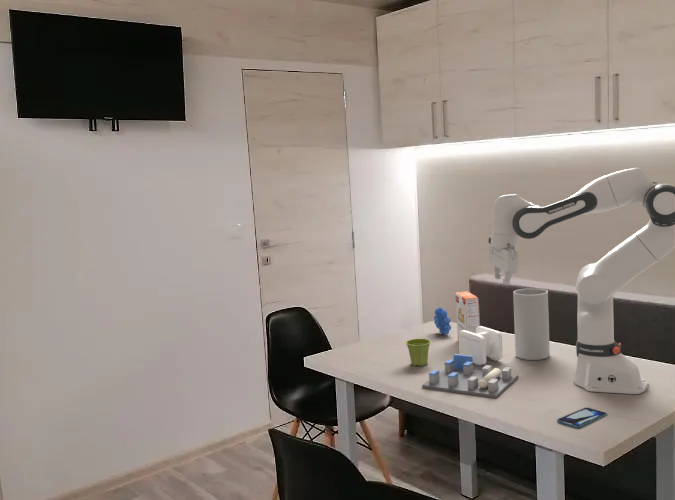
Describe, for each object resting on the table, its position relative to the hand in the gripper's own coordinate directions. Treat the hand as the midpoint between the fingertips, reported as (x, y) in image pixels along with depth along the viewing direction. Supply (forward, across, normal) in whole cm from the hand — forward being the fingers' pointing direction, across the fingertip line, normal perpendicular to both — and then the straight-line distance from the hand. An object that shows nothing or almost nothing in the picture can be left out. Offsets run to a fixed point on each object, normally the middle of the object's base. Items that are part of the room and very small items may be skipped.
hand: (501, 281), depth 228 cm
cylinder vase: (+33, +19, -20) cm, 43 cm away
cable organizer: (+35, +19, 0) cm, 40 cm away
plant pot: (+37, +22, +23) cm, 49 cm away
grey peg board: (+35, -4, +10) cm, 36 cm away
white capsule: (+32, -8, +5) cm, 33 cm away
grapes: (+37, +61, +5) cm, 72 cm away
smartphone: (+32, -42, -12) cm, 54 cm away
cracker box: (+36, +43, -2) cm, 56 cm away
